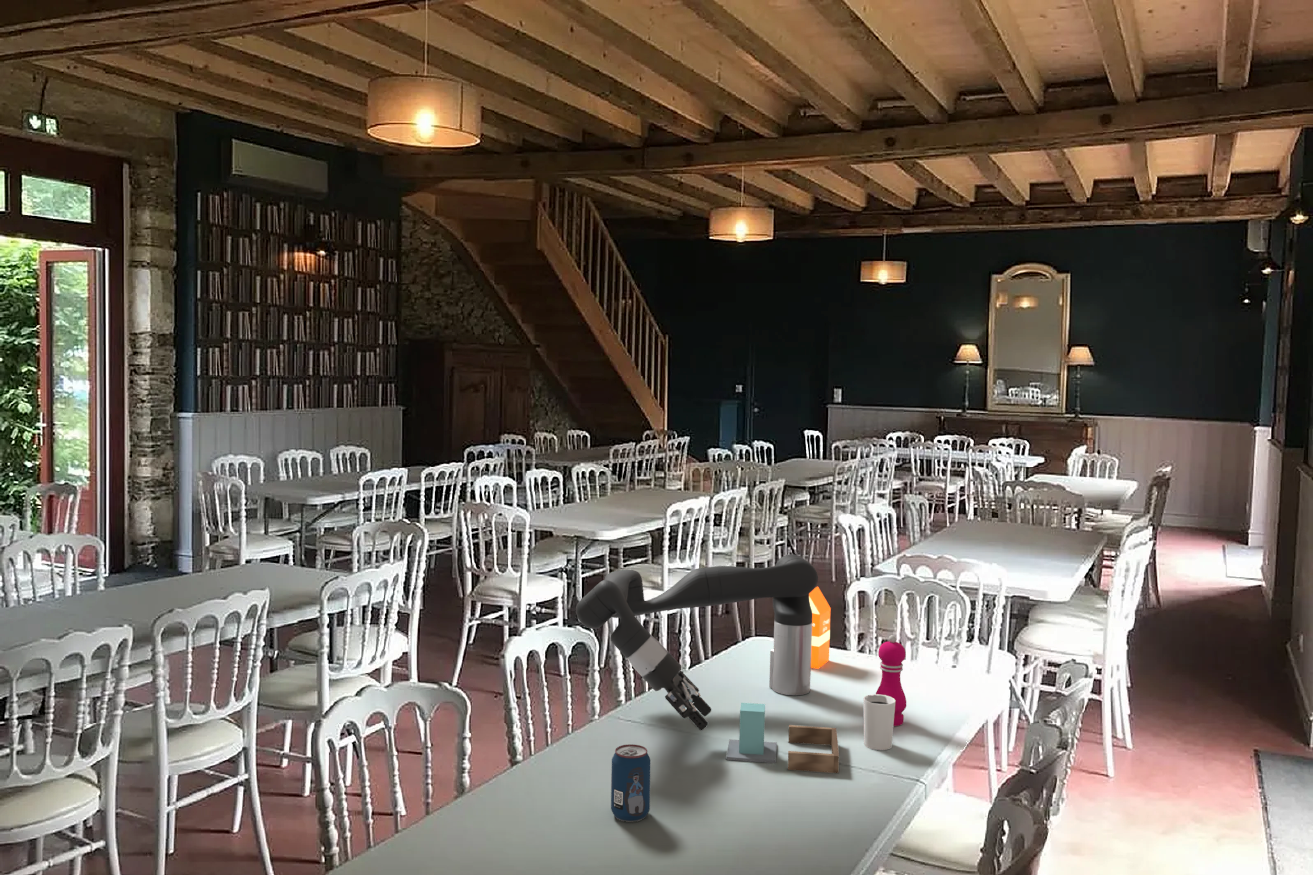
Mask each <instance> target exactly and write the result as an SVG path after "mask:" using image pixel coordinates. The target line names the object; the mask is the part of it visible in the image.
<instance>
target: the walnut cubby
mask: <svg viewBox="0 0 1313 875" xmlns="http://www.w3.org/2000/svg"><path fill="white" fill-rule="evenodd" d="M837 731H838V730H837V727H827V726H826V727H825V726H824V727H823V726H810V725H794V724H789V725H788V744H802V745H803V744H804V745H805V744H806V745H818V746H819V745H820V746H830V747H831V748H830V749H831V753H828V752H827V753H823V752H809V751H796V750H795V751H794V750H788V751H787V752H788V755H787V770H788V771H800V772H802V771H803V772H812V773H814V772H815V773H828V774H829V773H831V774H839V770H840V753H839V752H840V751H839V742H838V732H837Z"/></svg>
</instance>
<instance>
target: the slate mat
mask: <svg viewBox="0 0 1313 875" xmlns="http://www.w3.org/2000/svg"><path fill="white" fill-rule="evenodd" d="M725 756H726V759H725V760H726V761H738V762H753V763H754V762H755V763H766V764H767V763H770V764H776V760H777V742H776V741H775V742H773V741H764V753H763V755H759V754H744V753H739V739H729V740H728V744H727V751H726V755H725Z"/></svg>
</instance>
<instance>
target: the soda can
mask: <svg viewBox="0 0 1313 875" xmlns="http://www.w3.org/2000/svg"><path fill="white" fill-rule="evenodd" d="M649 755H650V754H648V749H647V748H646V747H645V746H642V745H640V744H623V745H620V746H617V747H616V748H615V750H614V754H613V756H612V757H611V774H610V775H611V784H610V791H611V792H610V810H611V812H612V814H613V816H614V817H615V819H616V820H618V819H619V820H618V821H620V820H621V821H620V822H624V821H626V822H625V823H634V822H633V821H637V822H641V821H643V820H644V819H645V818H646V817H647V815H648V813H649V812H650V809H651V808H650V806H651V805H650V804H651V803H650V802H651V758H650V756H649ZM642 819H643V820H642ZM640 820H641V821H640Z"/></svg>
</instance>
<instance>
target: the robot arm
mask: <svg viewBox="0 0 1313 875" xmlns="http://www.w3.org/2000/svg"><path fill="white" fill-rule="evenodd" d="M818 575H819V574H818V572H817V570H816V568H815V567H814V566H813V564H811V563H810V561H808V560H806V559H805V558H803V557H802V556H800V555H797V554H794V553H793V554H791V553H790V554H786V555H783V556H782V557H780V558H779V559H778V560H777V561H776V563H775V565H772V566H769V567H768V566H766V567H745V566H736V565H735V566H732V565H715V566H708V567H700V568H694V569H693V570H691V571H690V572H688V573H686V574H685V575H684V576H683V577H681V578H680V579H679V580H678V581H677V582H676V583H675V584H674V585H672V586H671V587H670V588H668V589H667V590H665V591H664V592H662V593H661V594H659V595H657V596H656V597H653V598H651V599H647V600H645V596H644V595H645V594H644V593H645V592H644V586H643V585H644V584H643V578H642V576H641V574H640V572H639V571H637V570H635V569H619V570H615V571H612V572H609V573H607V574H606V575H605V576H604V580H601V581H600V582H599V583H598V584H596V585H595V586H594V587H593V588H592V589H591V590H590V591H588V593H586V594H585V596H583V597H582V598H581V599H580V600H579V601H578V602H577V604H576V607H575V613H576V618H577V619H578V621H579V622H580V623H581V624H582V625H583V626H584V627H586V628H588V629H590V630H591V629H593V630H597V629H600V628H601V627H603V626H604V625H605V624H606V623H607V622H608V621H609V620H610V619H611V618H614V619H619V623H618V624H617V626H616V627H615V629H614V630H613V631H612V633H611V634H610V641H611V643H612V644H613V646H614V647H615V648H616V649H617V650H618V651H619V652H620V653H621V654H622V656H624V658H625V659H627V660H628V662H629V663H630V665H631V666H632V668H634V670H635V671H636V672H637V673H638V674H639V675H640V676H641V678H643V680H644V681H646V683H647V684H648V685H649V686H650V688H652V689H653V691H655V692H658V691H661V690H662V689H664V690H665V691H666V693H667V694H666V695H665V696H664V698H665V700H666V701H667V702H668V703H669V704H670V705H671V707H672V708H674V710H675V711H676V712H677V713H678V714H679V716H680V717H681V718H682V719H683V720H684V719H689V720H690V721H691V722H692V724H694V725H695V727H697V729H699V731H703V730H705V729H706V728H707V727H708V725H709V721H708V720H707V719H706V718H705V717H707V715H709V714H710V713H711V712H712V708H711V706H710V705H709V704H708V703H707V702H706V701H705V700H704V699H703V698H702V697H701V693H700V689H699V688H698V687H697V686H696V685H695V683H693V681H692V680H691V679H689V677H688V676H687V675H686V674H685V673H684V671H682V665H681V664H680V662H678V660H676V658H675V657H674V656H673V655H672V654H671V653H670V651H668V649H666V648H665V647H664V645H663V644H661V642H660V641H658V639H656V638H655V637H654V636H653V635H651V633H650V632H649V631H648V630H647V629H646V628H645V627H644V625H643V624H642V623H640V621H639V619H637V617H636V616H642V615H643V616H644V615H647V614H655V613H661V612H666V611H671V610H679V609H681V610H682V609H690V608H702V607H711V606H720V605H726V604H733V603H740V602H746V601H753V600H757V599H767V598H772V608H773V612H774V626H773V648H772V649H770V654H769V688H771V689H772V690H773V691H774V692H776V693H777V694H780V695H787V696H802V695H807V694H808V693H809V692H811V677H812V676H811V675H812V668H811V646H812V610H811V606H810V602H809V593H810V592H812V591H813V590H814V588H816V587H817V585H818V580H819V576H818Z"/></svg>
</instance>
